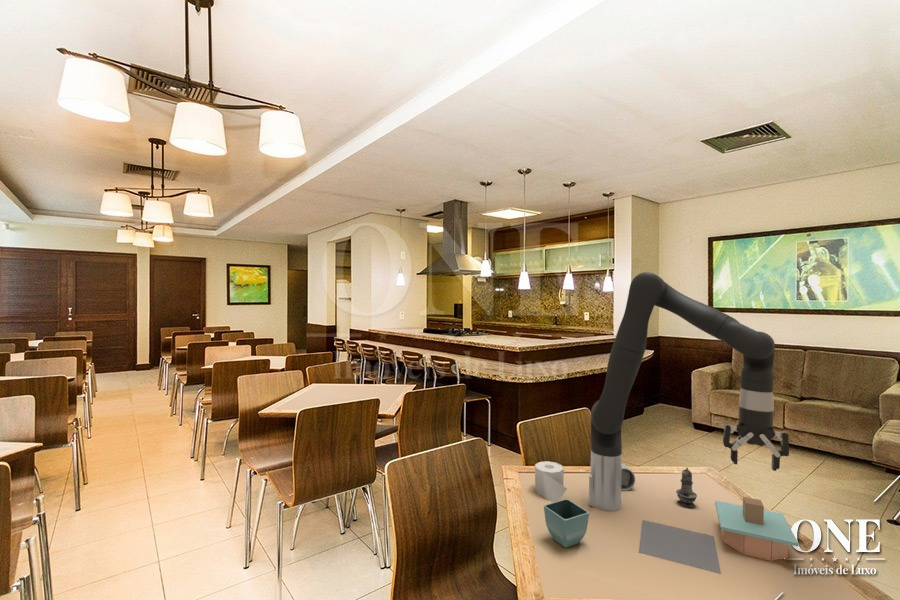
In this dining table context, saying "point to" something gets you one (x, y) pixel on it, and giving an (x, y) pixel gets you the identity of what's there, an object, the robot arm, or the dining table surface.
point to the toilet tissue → (549, 480)
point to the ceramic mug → (627, 478)
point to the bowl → (755, 546)
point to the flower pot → (566, 522)
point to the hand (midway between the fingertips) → (754, 466)
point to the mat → (679, 546)
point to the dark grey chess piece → (686, 491)
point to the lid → (754, 521)
